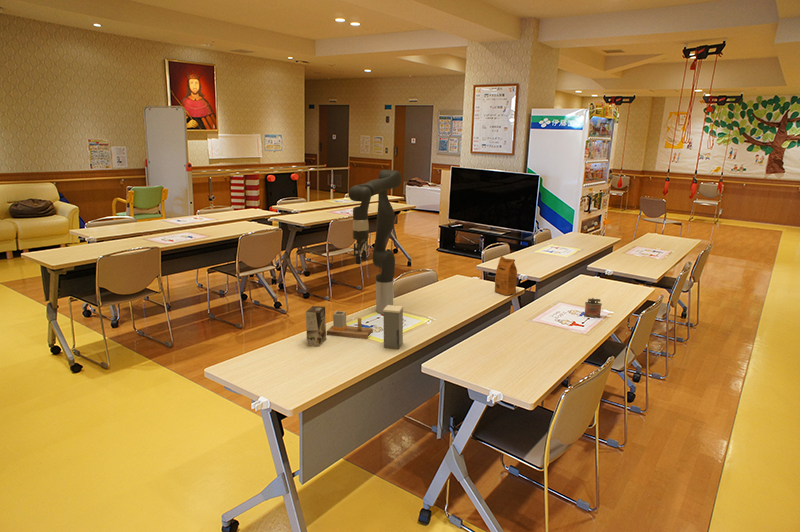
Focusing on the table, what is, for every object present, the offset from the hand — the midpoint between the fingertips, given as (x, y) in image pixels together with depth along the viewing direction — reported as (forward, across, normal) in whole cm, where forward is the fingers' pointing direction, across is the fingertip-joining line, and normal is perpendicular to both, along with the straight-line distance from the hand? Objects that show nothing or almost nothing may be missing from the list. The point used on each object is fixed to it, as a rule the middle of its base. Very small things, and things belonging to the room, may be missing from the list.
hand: (361, 262), depth 250 cm
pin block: (+33, +10, -3) cm, 35 cm away
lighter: (+33, -44, +112) cm, 125 cm away
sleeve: (+31, +10, -8) cm, 34 cm away
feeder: (+33, +19, +21) cm, 44 cm away
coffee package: (+33, -77, +65) cm, 106 cm away
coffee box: (+33, +24, -14) cm, 43 cm away
